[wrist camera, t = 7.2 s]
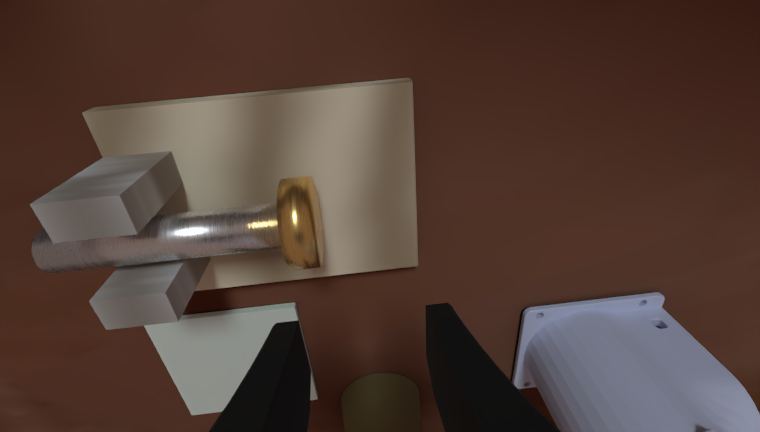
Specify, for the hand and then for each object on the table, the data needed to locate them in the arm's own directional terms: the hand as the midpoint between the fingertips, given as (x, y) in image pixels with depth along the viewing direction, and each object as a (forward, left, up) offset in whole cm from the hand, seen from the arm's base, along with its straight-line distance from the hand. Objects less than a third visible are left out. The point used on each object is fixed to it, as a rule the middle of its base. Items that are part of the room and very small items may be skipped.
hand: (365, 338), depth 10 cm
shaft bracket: (+4, 0, -10) cm, 11 cm away
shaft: (+7, 0, -9) cm, 12 cm away
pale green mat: (+9, +12, -10) cm, 18 cm away
